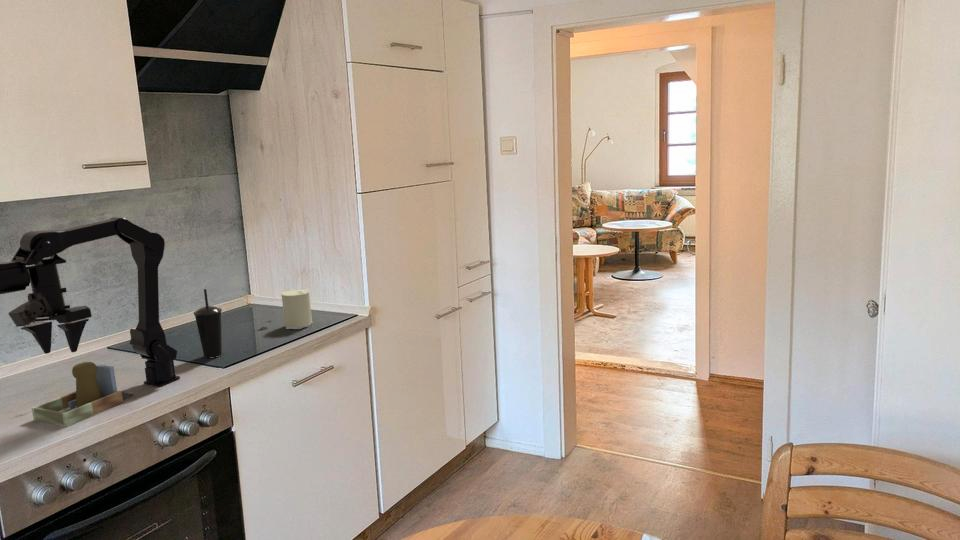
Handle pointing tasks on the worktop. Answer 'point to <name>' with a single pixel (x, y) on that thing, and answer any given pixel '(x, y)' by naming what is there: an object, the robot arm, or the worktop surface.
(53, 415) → the track
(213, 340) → the drinking cup
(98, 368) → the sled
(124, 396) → the pit mat
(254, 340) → the worktop surface
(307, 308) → the can
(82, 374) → the cork
